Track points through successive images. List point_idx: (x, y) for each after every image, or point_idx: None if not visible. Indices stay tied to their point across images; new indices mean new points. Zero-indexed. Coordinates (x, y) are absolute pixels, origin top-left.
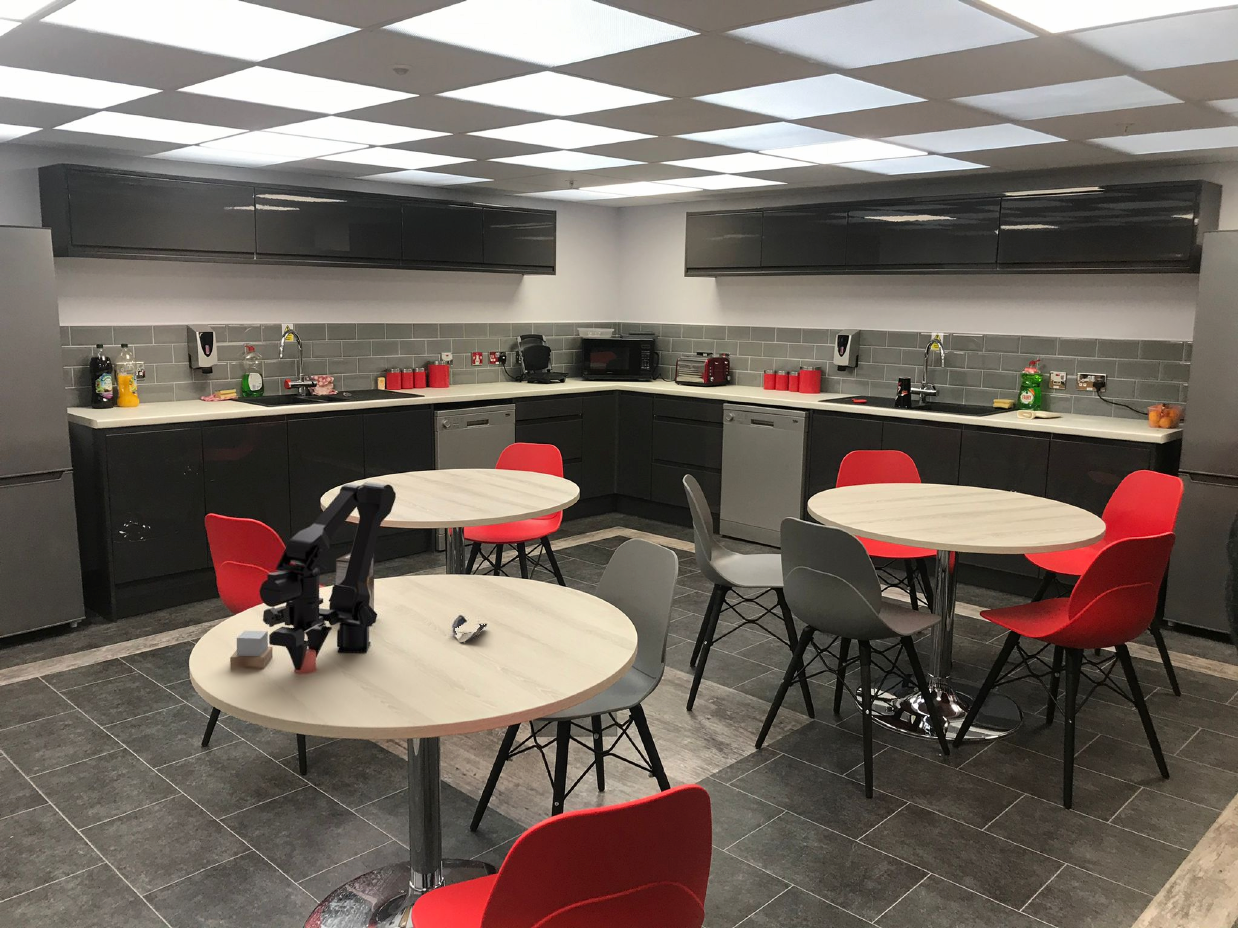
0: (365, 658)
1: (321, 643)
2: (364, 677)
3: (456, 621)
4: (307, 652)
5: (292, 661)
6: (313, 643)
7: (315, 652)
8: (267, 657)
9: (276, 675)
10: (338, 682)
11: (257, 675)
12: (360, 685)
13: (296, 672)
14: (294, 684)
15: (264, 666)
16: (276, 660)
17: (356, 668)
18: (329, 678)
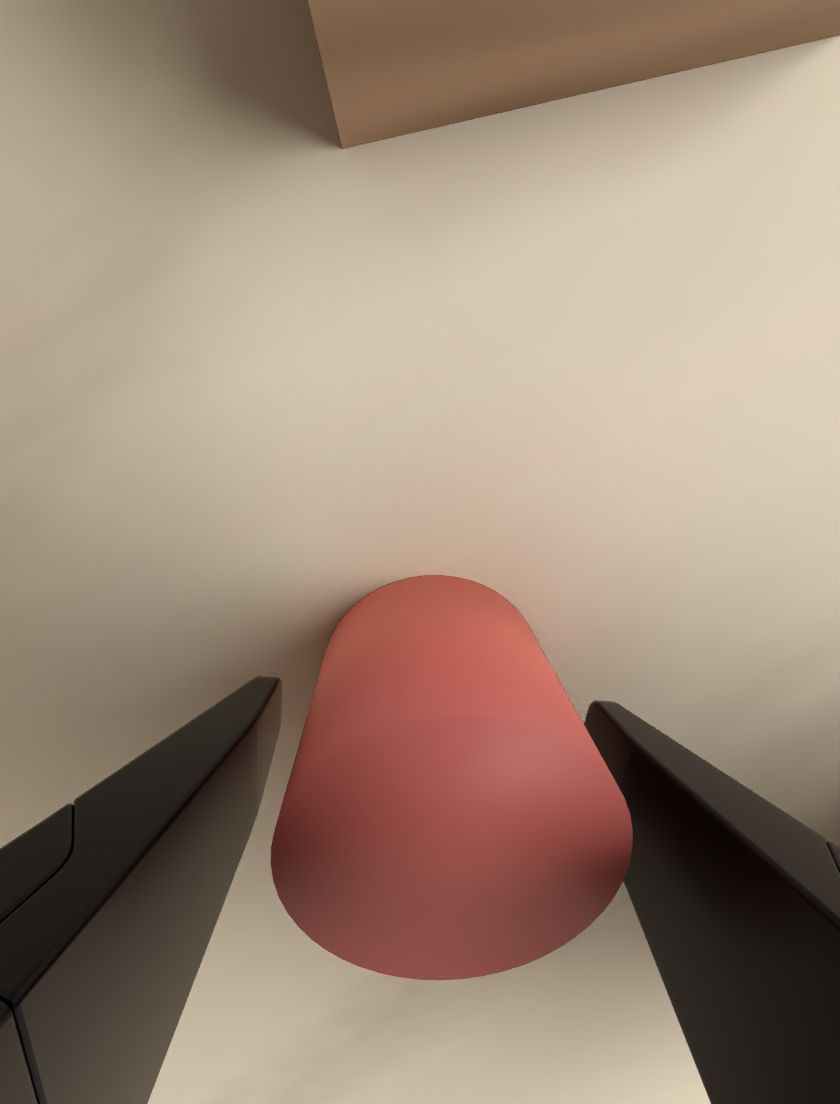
0: None
1: (714, 1090)
2: (375, 1070)
3: None
4: (449, 892)
5: (165, 741)
6: (742, 975)
7: (479, 970)
8: (586, 18)
9: (170, 460)
10: (226, 989)
11: (60, 189)
12: (228, 1094)
13: (337, 626)
14: (24, 743)
15: (367, 129)
16: (707, 179)
17: (540, 987)
18: (281, 918)
